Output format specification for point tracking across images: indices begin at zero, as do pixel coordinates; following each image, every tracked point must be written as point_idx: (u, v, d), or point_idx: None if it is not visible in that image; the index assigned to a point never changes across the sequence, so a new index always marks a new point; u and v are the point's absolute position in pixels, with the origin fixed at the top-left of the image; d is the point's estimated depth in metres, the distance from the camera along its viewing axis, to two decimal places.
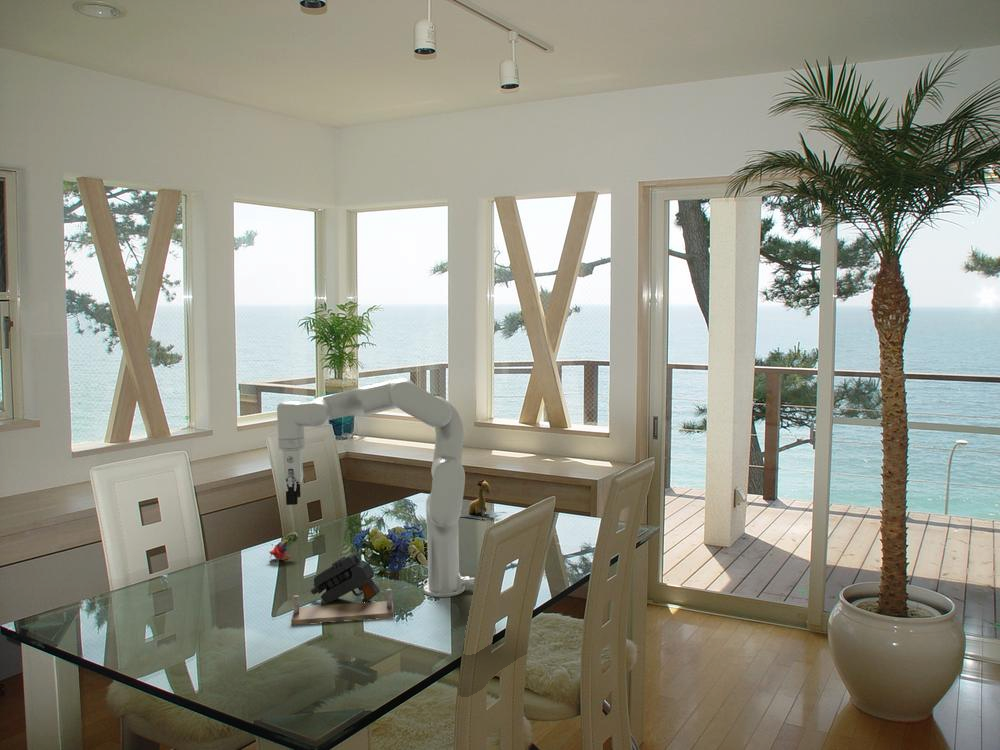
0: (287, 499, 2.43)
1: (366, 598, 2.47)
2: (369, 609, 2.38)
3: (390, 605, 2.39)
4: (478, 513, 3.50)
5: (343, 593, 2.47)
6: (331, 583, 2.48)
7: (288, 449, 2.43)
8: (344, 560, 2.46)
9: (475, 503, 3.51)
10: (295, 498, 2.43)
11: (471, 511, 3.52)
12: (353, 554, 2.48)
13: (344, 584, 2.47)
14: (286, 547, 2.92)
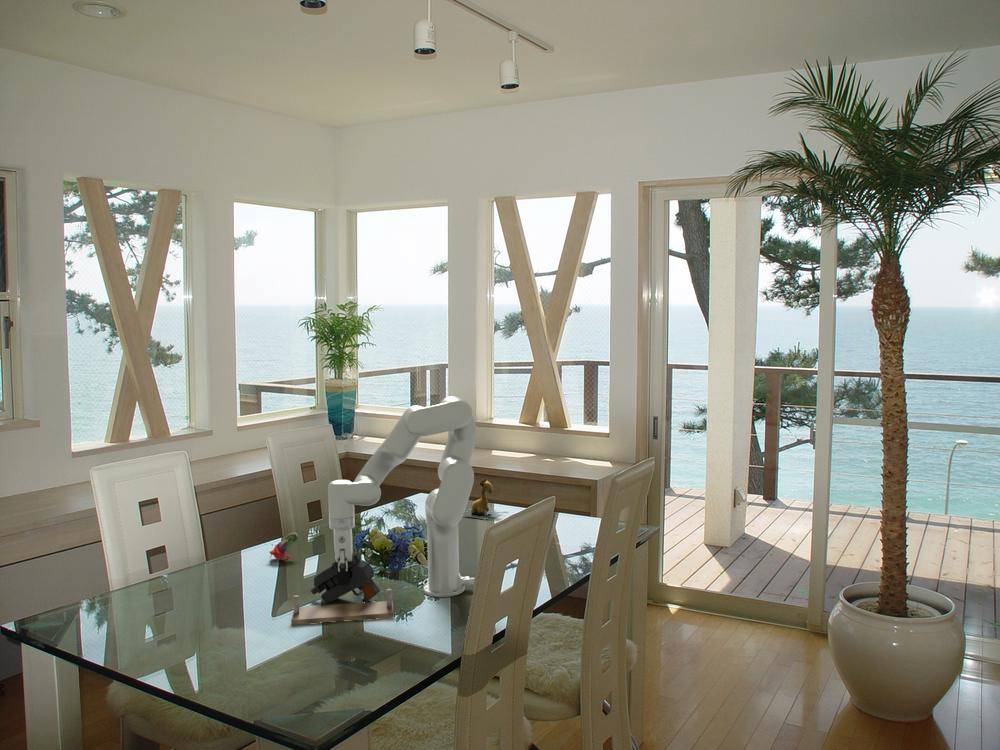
0: (339, 580, 2.45)
1: (366, 598, 2.47)
2: (369, 609, 2.38)
3: (390, 605, 2.39)
4: (481, 513, 3.50)
5: (344, 592, 2.47)
6: (331, 583, 2.48)
7: (339, 529, 2.44)
8: (344, 560, 2.46)
9: (477, 503, 3.51)
10: (347, 578, 2.45)
11: (473, 511, 3.52)
12: (353, 554, 2.48)
13: None
14: (286, 547, 2.92)
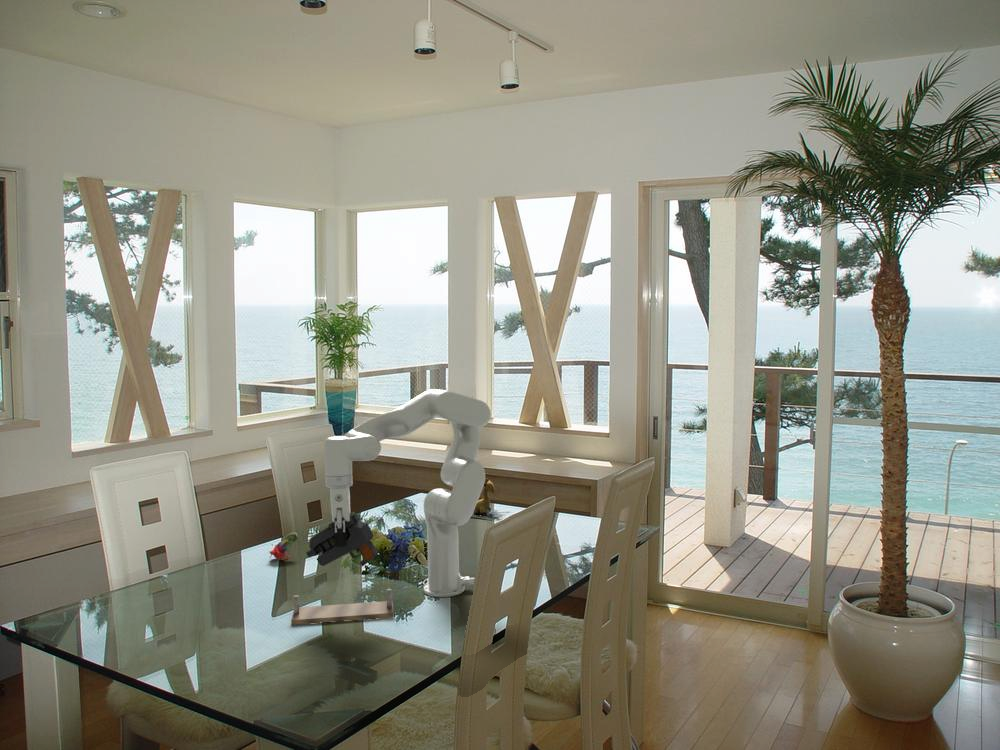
0: (336, 541, 2.32)
1: (364, 560, 2.35)
2: (369, 609, 2.38)
3: (390, 605, 2.39)
4: (483, 513, 3.50)
5: (341, 555, 2.34)
6: (328, 544, 2.35)
7: (336, 487, 2.31)
8: None
9: (480, 503, 3.51)
10: (344, 539, 2.32)
11: (476, 511, 3.52)
12: (351, 514, 2.36)
13: None
14: (286, 547, 2.92)
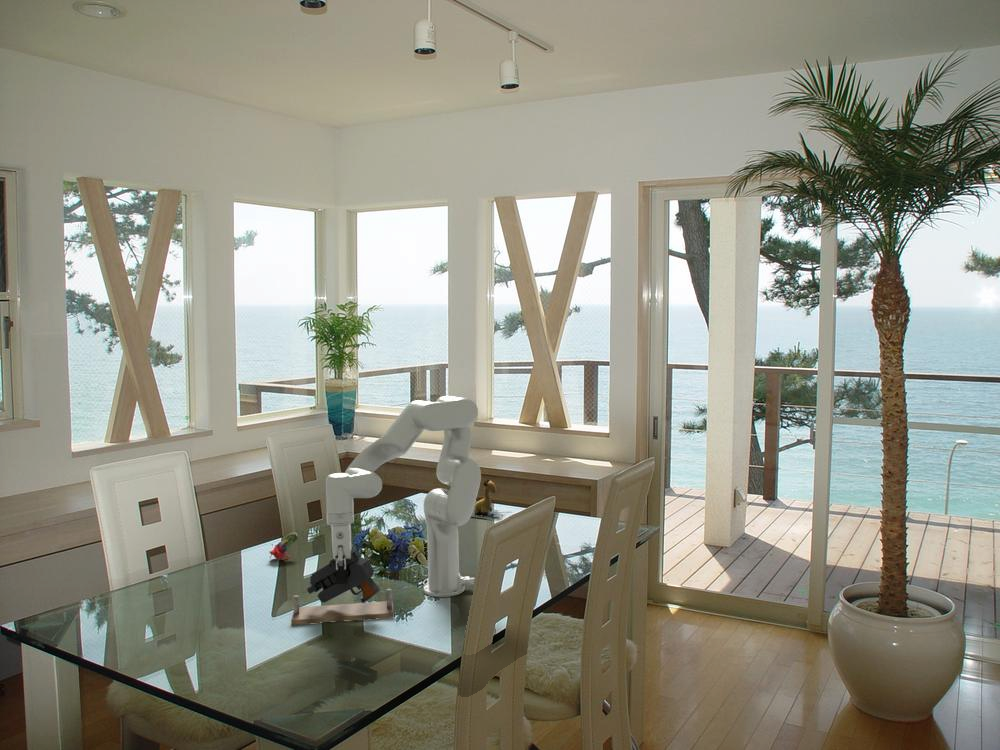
0: (337, 578, 2.33)
1: (365, 597, 2.35)
2: (369, 609, 2.38)
3: (390, 605, 2.39)
4: (484, 513, 3.50)
5: (341, 592, 2.35)
6: (328, 581, 2.36)
7: (337, 524, 2.32)
8: None
9: (481, 503, 3.51)
10: (345, 577, 2.33)
11: (477, 511, 3.52)
12: (352, 551, 2.36)
13: None
14: (286, 547, 2.92)
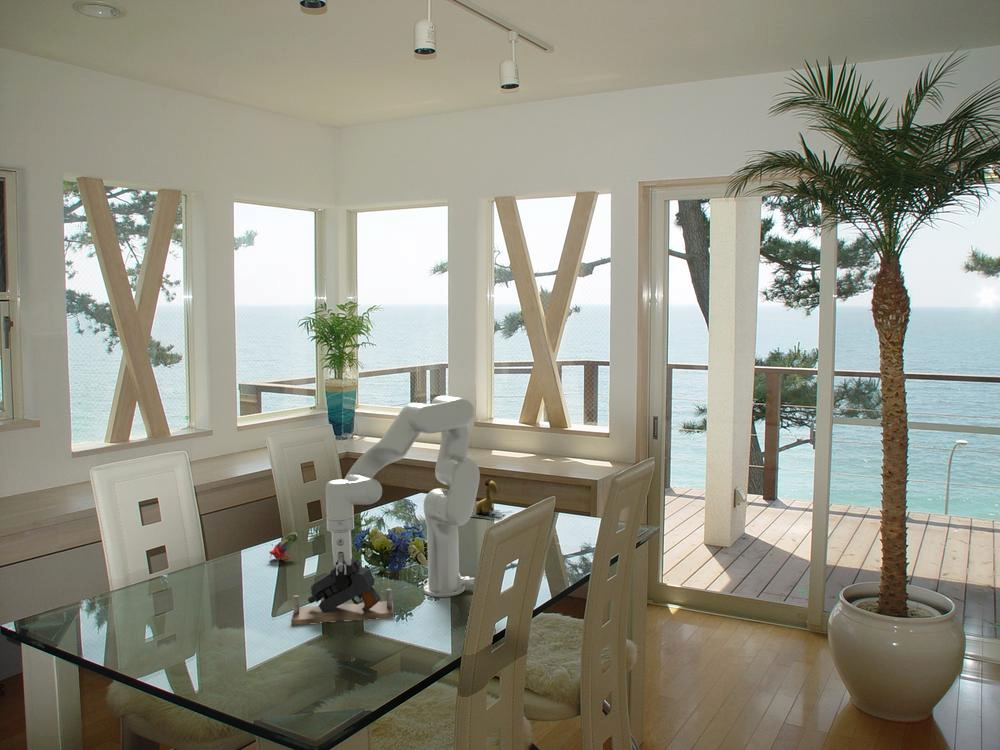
0: (337, 583, 2.32)
1: (367, 606, 2.36)
2: (369, 609, 2.38)
3: (390, 605, 2.39)
4: (485, 513, 3.50)
5: (343, 601, 2.35)
6: (329, 591, 2.36)
7: (338, 531, 2.32)
8: None
9: (482, 503, 3.51)
10: (345, 582, 2.32)
11: (478, 511, 3.52)
12: (353, 560, 2.37)
13: (343, 592, 2.35)
14: (286, 547, 2.92)
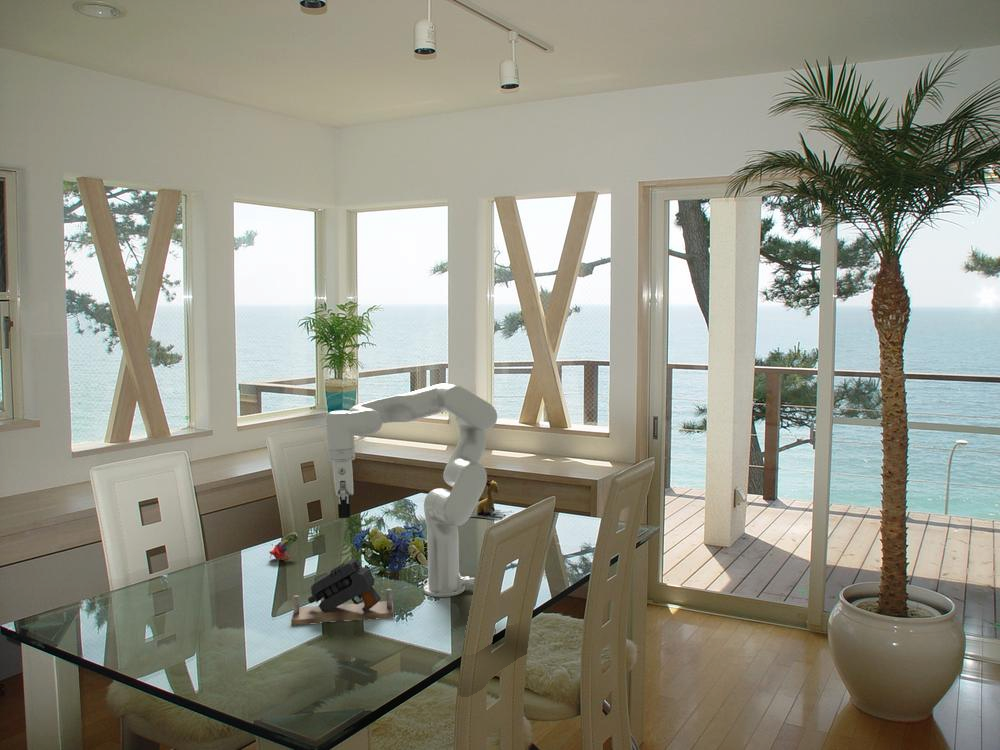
0: (339, 512, 2.33)
1: (367, 606, 2.36)
2: (369, 609, 2.38)
3: (390, 605, 2.39)
4: (487, 513, 3.50)
5: (343, 601, 2.35)
6: (329, 591, 2.36)
7: (339, 460, 2.34)
8: (343, 567, 2.34)
9: (483, 503, 3.51)
10: (348, 511, 2.34)
11: (479, 511, 3.52)
12: (353, 560, 2.37)
13: (343, 592, 2.35)
14: (286, 547, 2.92)
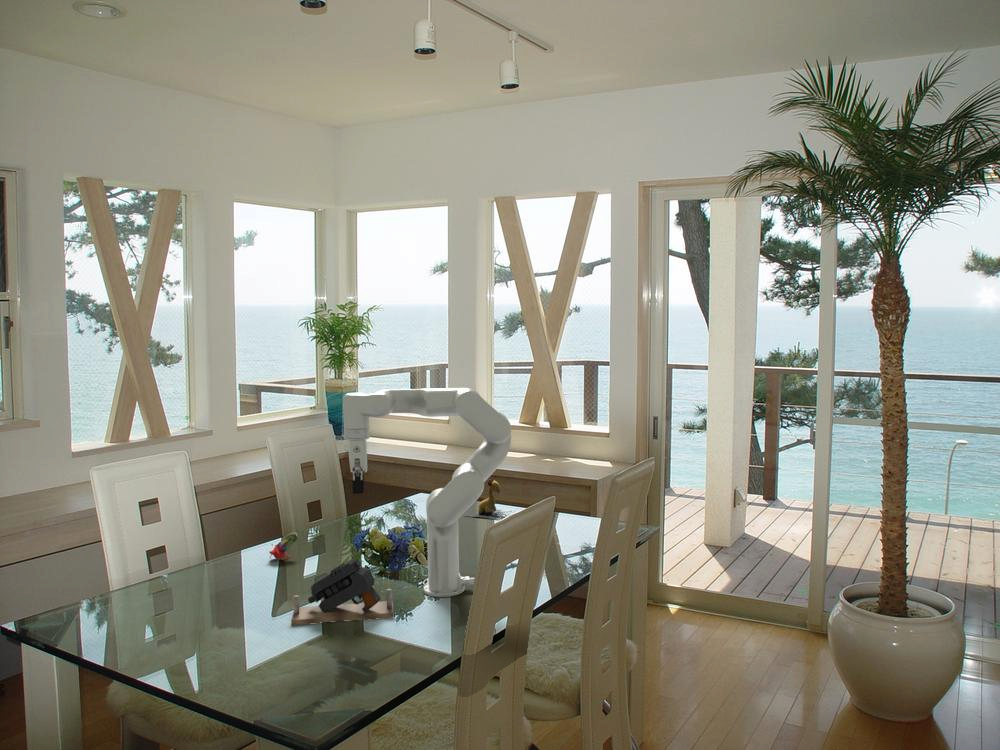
0: (354, 488, 2.48)
1: (367, 606, 2.36)
2: (369, 609, 2.38)
3: (390, 605, 2.39)
4: (489, 513, 3.50)
5: (343, 601, 2.35)
6: (329, 591, 2.36)
7: (354, 439, 2.48)
8: (343, 567, 2.34)
9: (485, 503, 3.52)
10: (361, 487, 2.48)
11: (481, 511, 3.52)
12: (353, 560, 2.37)
13: (343, 592, 2.35)
14: (286, 547, 2.92)
